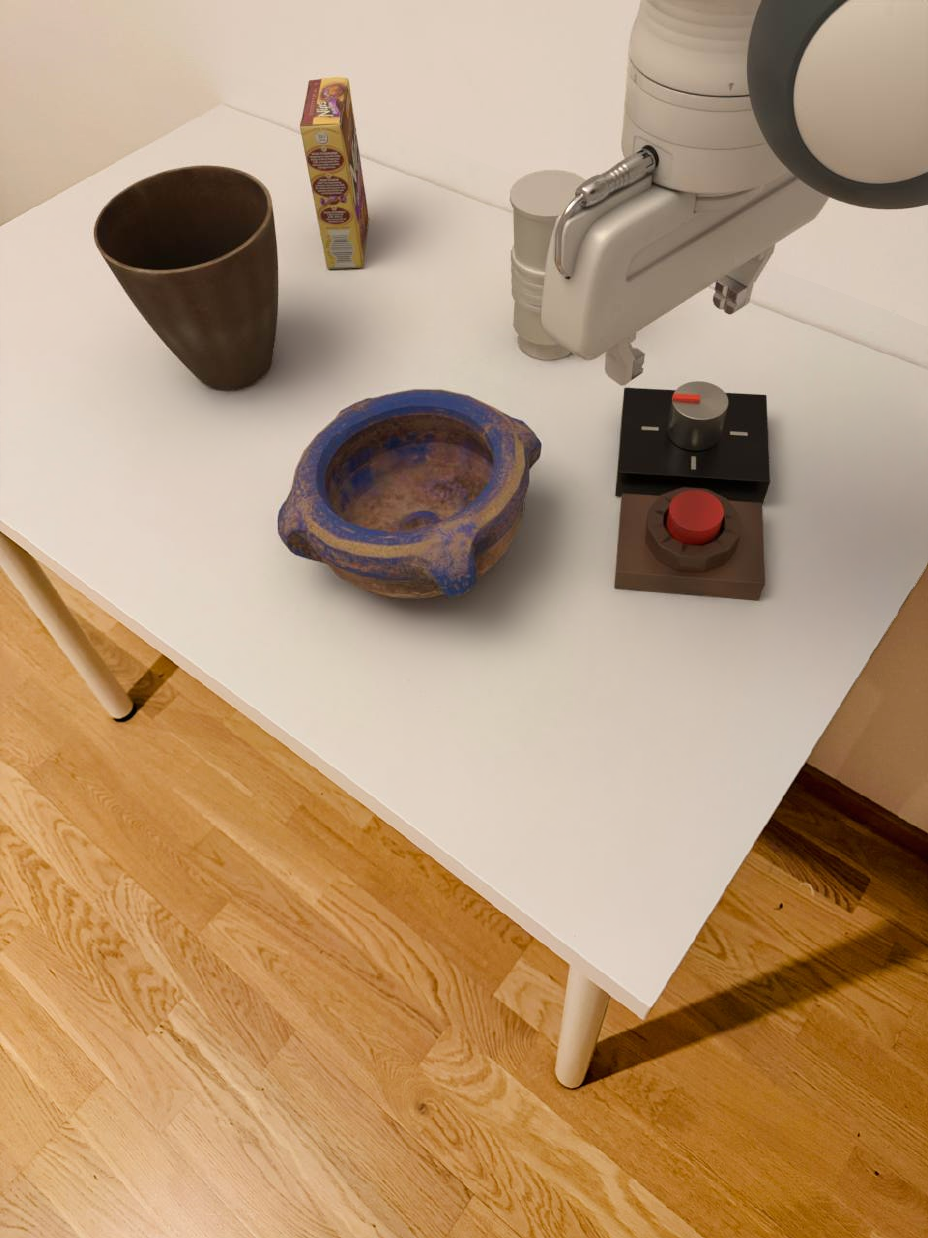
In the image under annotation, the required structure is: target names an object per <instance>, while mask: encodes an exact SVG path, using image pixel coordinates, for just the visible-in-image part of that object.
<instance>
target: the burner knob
mask: <svg viewBox="0 0 928 1238" xmlns="http://www.w3.org/2000/svg"><path fill="white" fill-rule="evenodd" d="M675 390H676V391H675V392H674V394H673V397H672V403H671V409H670V415H669V421H668V428H667V433H668V436H669V438H670V440H671V441H672V442H673V443H674V444H675V445H677V446H679V447H681V448H683V449H686V450H692V451H701V450H706V449H709V448H711V447H713V446H714V445H715V444H716V443H717V442H718V441H719V440H720V437H721V434H722V429H723V425H724V421H725V416H726V412H727V408H728V397H727V395H726V393H727V392H725V391H724V390H723V389H722V388H721V387H719V385H716V384H714V383H712V382H708V381H698V380H697V381H690V382H686V383H683V384H681V385H680V386H678V387H677V388H676V389H675Z"/></svg>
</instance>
